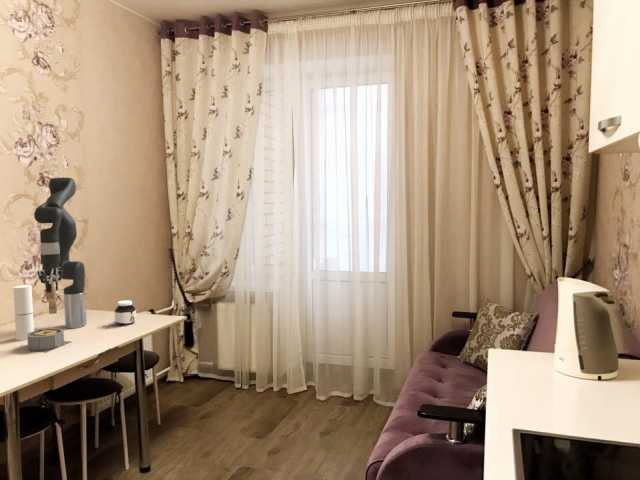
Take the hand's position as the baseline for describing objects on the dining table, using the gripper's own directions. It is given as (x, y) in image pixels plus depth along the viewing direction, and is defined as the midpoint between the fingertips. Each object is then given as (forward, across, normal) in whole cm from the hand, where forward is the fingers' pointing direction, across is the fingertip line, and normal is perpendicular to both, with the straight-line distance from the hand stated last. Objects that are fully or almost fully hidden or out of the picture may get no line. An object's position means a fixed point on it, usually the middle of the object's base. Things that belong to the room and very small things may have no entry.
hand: (51, 291), depth 219 cm
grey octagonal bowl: (+24, +3, -2) cm, 24 cm away
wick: (+10, 0, 0) cm, 10 cm away
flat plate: (+24, +3, -2) cm, 25 cm away
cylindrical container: (+25, -5, -19) cm, 32 cm away
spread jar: (+24, -42, +8) cm, 49 cm away
